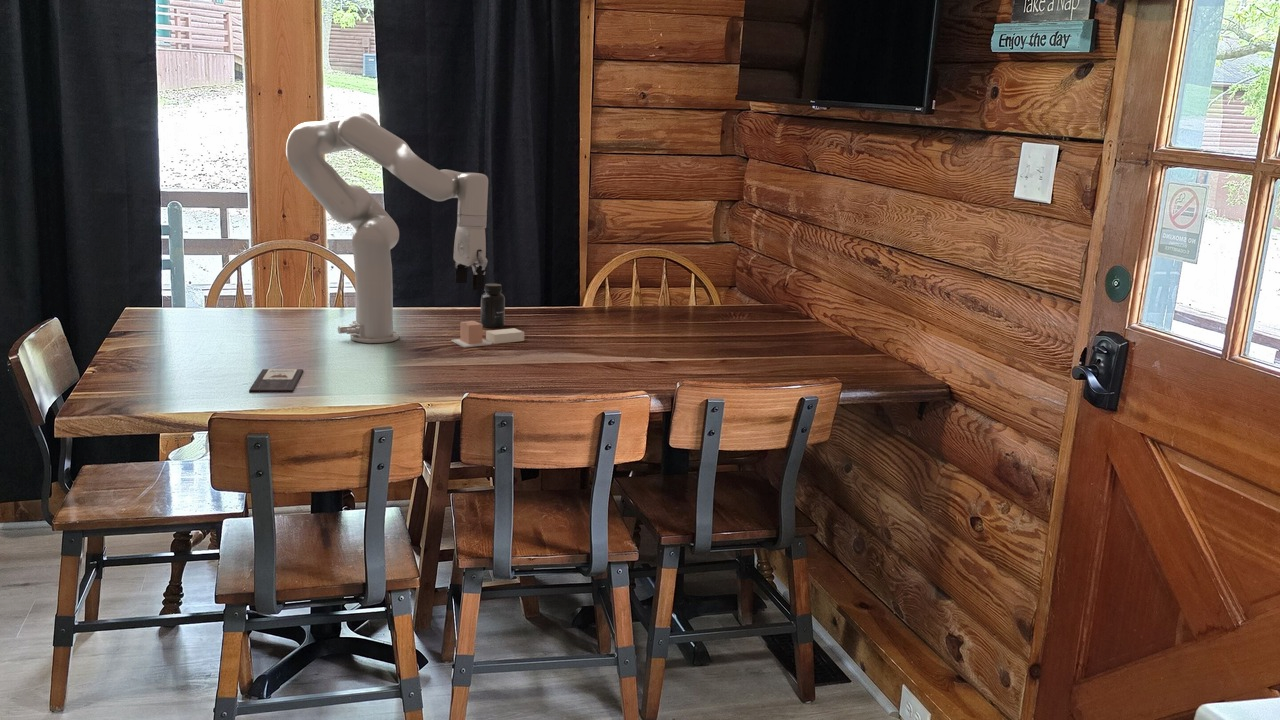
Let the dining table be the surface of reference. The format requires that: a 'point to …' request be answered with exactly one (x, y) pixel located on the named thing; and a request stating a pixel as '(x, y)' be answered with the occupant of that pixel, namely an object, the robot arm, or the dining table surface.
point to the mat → (470, 344)
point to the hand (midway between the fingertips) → (469, 286)
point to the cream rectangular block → (505, 335)
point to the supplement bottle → (492, 306)
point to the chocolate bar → (276, 380)
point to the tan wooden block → (471, 332)
